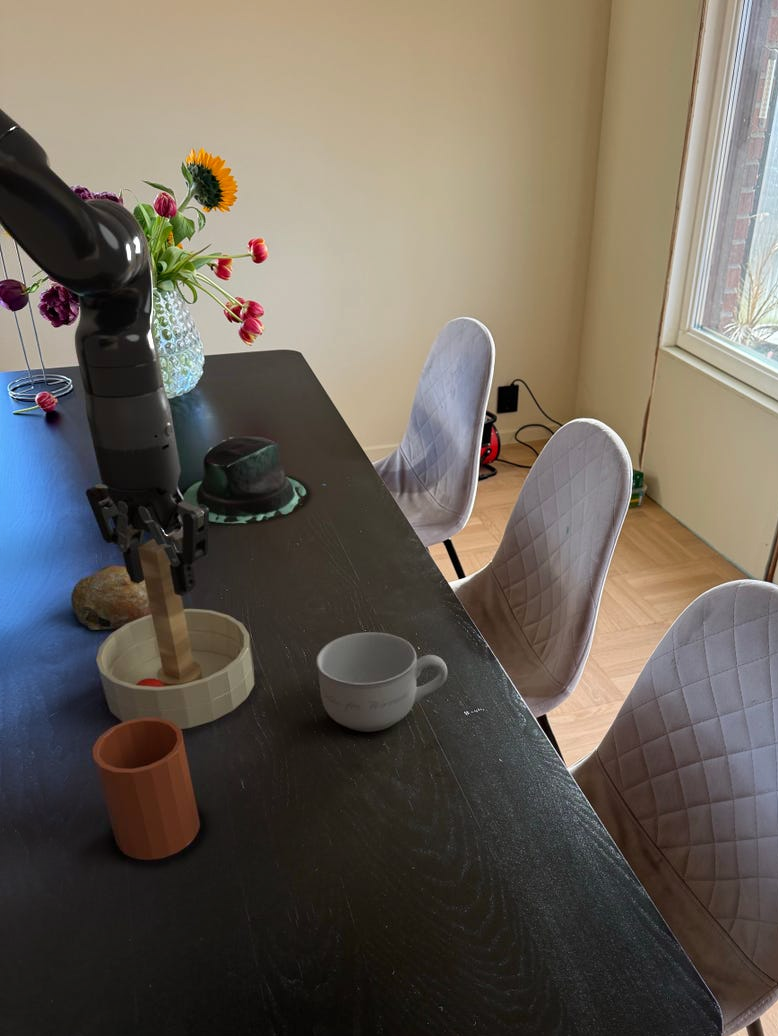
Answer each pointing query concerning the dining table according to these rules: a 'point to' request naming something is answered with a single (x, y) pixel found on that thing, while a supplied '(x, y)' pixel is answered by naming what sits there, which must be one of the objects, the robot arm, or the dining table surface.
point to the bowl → (188, 705)
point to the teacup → (373, 679)
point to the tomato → (150, 682)
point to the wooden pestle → (167, 618)
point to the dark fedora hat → (244, 481)
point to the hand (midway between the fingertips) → (162, 585)
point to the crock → (147, 787)
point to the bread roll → (109, 599)
